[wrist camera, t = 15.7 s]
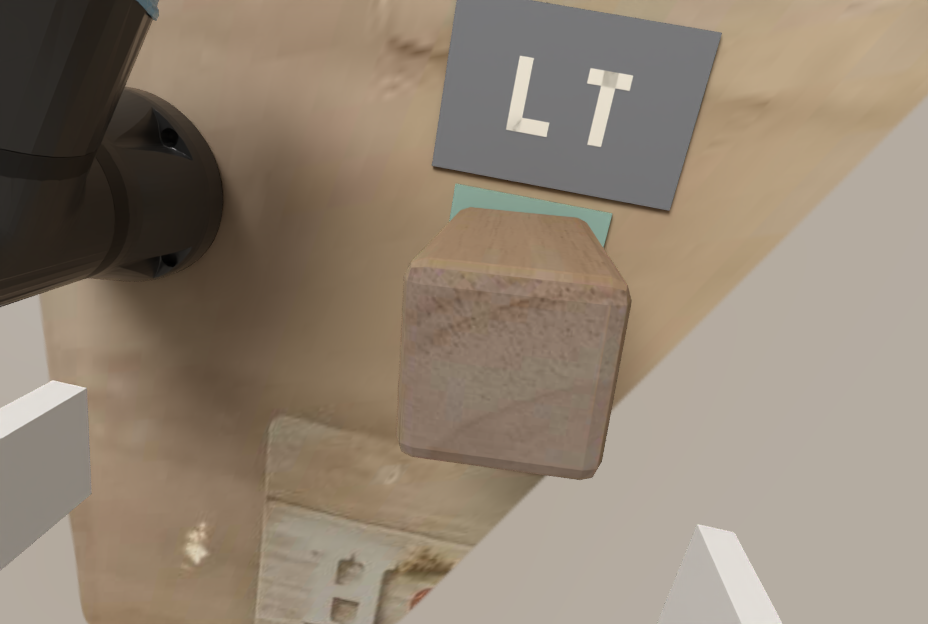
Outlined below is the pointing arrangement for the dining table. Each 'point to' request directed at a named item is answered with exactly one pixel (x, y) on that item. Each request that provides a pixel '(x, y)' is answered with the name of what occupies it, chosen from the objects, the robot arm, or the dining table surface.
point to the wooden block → (511, 344)
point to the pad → (527, 207)
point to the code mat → (572, 98)
